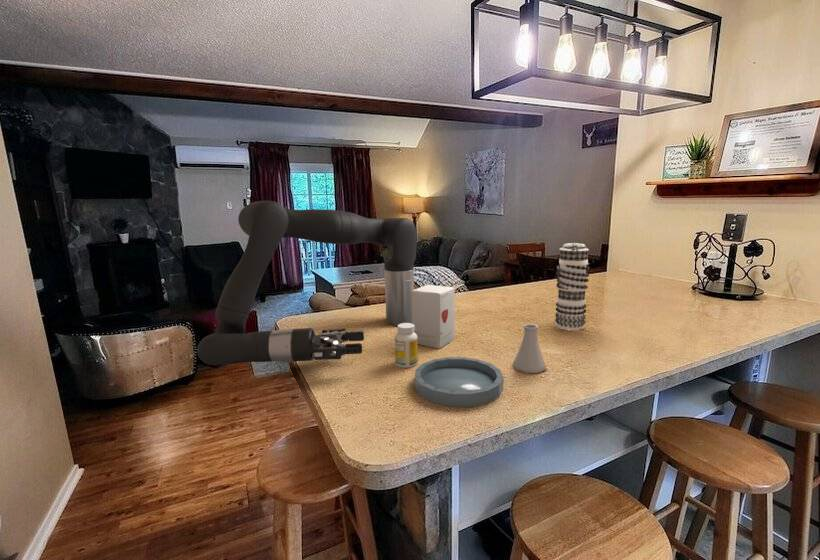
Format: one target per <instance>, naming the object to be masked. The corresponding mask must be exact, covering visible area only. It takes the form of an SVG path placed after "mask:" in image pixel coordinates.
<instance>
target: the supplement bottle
mask: <svg viewBox="0 0 820 560" xmlns="http://www.w3.org/2000/svg"><path fill="white" fill-rule="evenodd" d="M396 326H397V327H396V329H397V333H396V334H395V336H394V358H395V359H394V361H395V362H394V363H395V365H396V366H397V367H398V368H403V369H407V368H409V369H410V368H413V367H416V366H417V365H418V357H419V356H418V344H417V335H416V333H414V330H415V327H414V324H411V323H401V324H399V325H396Z"/></svg>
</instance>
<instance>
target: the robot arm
mask: <svg viewBox="0 0 820 560" xmlns="http://www.w3.org/2000/svg"><path fill="white" fill-rule="evenodd" d="M238 225H239V226H240V229H241V230H242V232H243V233H245V234H246V235H247V236H248V239H247V240H248V241H247V244H246V246H245V248H244V252H243V254H242V257H241V258H240V260H239V261H238V263H237V265H236V267H235V268H234V269H233V271H232V273H231V274H230V276H229V277H228V279H227V281H226V283H225V284H224V287H223V290H222V291H221V295H220V298H219V300H218V304H217V307H216V310H215V314H214V316H215V318H216V320H217V325H216V329H215V331H214V333H211V334H208V335H206V336H204V337H203V338H202V339H201V341H199V343H198V344H197V349H196V354H197V356H198V358H199V359H200V361H202V362H203V363H204V364H206V365H209V366H223V365H224V366H225V365H232V364H241V363H268V362H271V363H272V362H274V363H275V362H278V363H291V362H292V363H293V362H310V361H314V360H315V361H325V360H327V361H328V360H331V361H332V360H341V359H342V357H344V356H346V355H356V354H357V355H361V354H362V353H363V344H362V343H361V342H362V341H365V335H364V331H362V330H361V331H348V330H347V328H333V329H331V328H330V329H322V330H321V334H316V332H315V330H314V329H313V327H307V328H306V327H305V328H283V329H277V330H266V331H264V330H261V331H254V332H253V331H252V332H247V333H246V332H245V331H246V323H247V320H248V317H249V315H250V312H251V309H252V306H253V304H254V301H255V299H256V294H257V292H258V289H259V286H260V284H261V281H262V279H263V276H264V274H265V273H266V270H267V268H268V266H269V264H270V262H271V260H272V258H273V256H274V254H275V252H276V250H277V248H278V246H279V244H280V243H281V241H282V239H283V238H290V239H291V238H292V239H293V238H294V239H300V240H304V241H311V242H316V243H323V244H329V245H331V244H332V245H355V244H361V243H362V244H363V243H370V244H376V245H381V246H385V247H387V248H388V247H389V248H392V255H391V256H390V257H389V258H388V259H386V260H384V263H383V264H384V265H383V267H384V288H385V289H384V291H385V293H384V294H385V295H384V296H385V319H386V320H385V321H386V324H388V325H391V326H398V325H399V324H401V323H411V324H412V290H415V275H414V274H415V273H414V270H415V269H414V266H415V262H416V259H417V229H416V228H417V227H416V225H415V223H414V221H412V220H411V219H409V218H406V217H386V218H372V217H371V218H369V217H364V216H362V215H359V214H358V213H354V212H350V211H344V210H338V209H337V210H336V209H324V208H323V209H320V208H319V209H293V208H286V207H284V206H283V205H282V204H281V203H279V202H276V201H274V200H273V201H272V200H257V201H253V202H250V203H248V204H247V205H245V206H243V208H242V209H240V212H239V214H238ZM346 342H354V343H346ZM355 342H356V343H355ZM344 343H345V344H344Z"/></svg>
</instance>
